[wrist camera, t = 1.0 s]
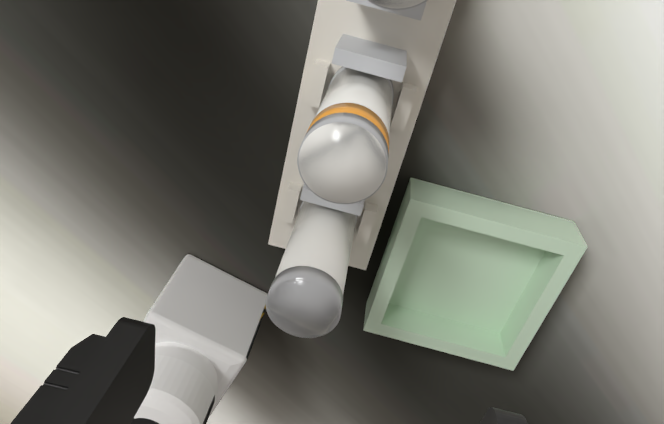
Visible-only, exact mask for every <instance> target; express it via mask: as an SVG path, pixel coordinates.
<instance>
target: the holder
mask: <svg viewBox="0 0 664 424" xmlns="http://www.w3.org/2000/svg"><path fill="white" fill-rule="evenodd" d="M456 1H457V0H428V1H426V2H425V3H423V4H421V5H419V6H416V7H413V8H410V9H405V10H389V9H384V8H381V7H378V6H376V5H374V4H372V3H371V2H369V1H368V0H318V3H317V8H316V13H315V18H314V23H313V28H312V32H311V37H310V42H309V47H308V52H307V57H306V62H305V67H304V71H303V76H302V81H301V86H300V91H299V96H298V101H297V106H296V110H295V115H294V120H293V125H292V130H291V135H290V140H289V145H288V149H287V154H286V159H285V164H284V169H283V174H282V179H281V184H280V188H279V193H278V198H277V203H276V208H275V213H274V218H273V223H272V227H271V232H270V237H269V242H268V244H269V245H273V246H277V247H280V248H284V249H286V247H287V244H288V241H289V239H290V236H291V233H292V231H293V228H294V225H295V223H296V220H297V217H298V214H299V211H300V207H301V204H302V201H306V202H309V203H313V204H317V205H320V206H324V207H328V208H332V209H335V210H339V211H343V212H346V213H350V214H354V215H358V217H357V222H356V226H355V229H354V235H353V241H352V247H351V252H350V258H349V264H348V266H351V267H355V268H359V269H362V270H366V268H367V266H368V263H369V260H370V257H371V254H372V251H373V248H374V245H375V242H376V239H377V236H378V233H379V230H380V227H381V224H382V221H383V218H384V215H385V212H386V209H387V206H388V203H389V200H390V197H391V194H392V191H393V188H394V185H395V182H396V179H397V176H398V173H399V170H400V167H401V164H402V161H403V158H404V155H405V152H406V149H407V146H408V143H409V141H410V138H411V135H412V132H413V129H414V126H415V123H416V120H417V117H418V114H419V111H420V108H421V105H422V102H423V99H424V96H425V93H426V90H427V87H428V84H429V81H430V78H431V75H432V72H433V69H434V66H435V63H436V60H437V57H438V54H439V51H440V48H441V45H442V42H443V39H444V36H445V33H446V30H447V27H448V24H449V21H450V18H451V16H452V13H453V10H454V7H455V4H456ZM342 66H343V67H346V68H350V69H354V70H357V71H361V72H365V73H368V74H372V75H376V76H379V77H383V78H387V79H391V80H392V83H393V88H394V97H393V104H392V109H391V120H390V132H389V143H390V145H389V157H388V168H387V174H386V177H385V180H384V182H383V184H382V185H381V187H380V188H379V189H378V191H376V192H375V193H374V194H373V195H372V196H371V197H369V198H367V199H365V200H363V201H361V202H358V203H353V204H336V203H331V202H328V201H326V200H323V199H321V198H320V197H318V196H316V195H315V194H314V193H313V192H311V191H310V190H309V189H308V187H307V186H306V185H305V184H304V182H303V180H302V178H301V176H300V174H299V170H298V164H297V157H298V151H299V148H300V145H301V143H302V141H303V139H304V137H305V135H306V133H307V131H308V128H309V126H310V124H311V122H312V121H313V119H314V118H315V116H316V114H317V112H318V110H319V108H320V106H321V103H322V101H323V99H324V97H325V95H326V93H327V91H328V87H329V84H330V82H331V80H332V78H333V76H334V74H335V73H336V72H337V70H338V69H339V68H341V67H342Z"/></svg>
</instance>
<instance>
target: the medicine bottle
mask: <svg viewBox="0 0 664 424" xmlns="http://www.w3.org/2000/svg"><path fill="white" fill-rule="evenodd" d="M267 295H268V294H267V293H266V292H264V291H262V290H260V289H258V288H256V287H254V286H252V285H250V284H248V283H246V282H244V281H242V280H240V279H238V278H236V277H234V276H232V275H230V274H228V273H226V272H224V271H222V270H220V269H218V268H216V267H214V266H212V265H210V264H208V263H206V262H205V261H203V260H201V259H199V258H197V257H195V256H193V255H190V254H188V255H186V256H185V257H184V258H183V260H182V261H181V263H180V264H179V266H178V267H177V269H176V270H175V272H174V274H173V275H172V277H171V278H170V280H169V281H168V283H167V284H166V286H165V287H164V289H163V290H162V292H161V293H160V295H159V296H158V298H157V299H156V301H155V302H154V304H153V305H152V307H151V308H150V310H149V311H148V313H147V315H146V317H145V319H144V321H143V322H146V323H150V324H154V325H155V330H156V333H155V370H154V375H153V379H152V383H151V386H150V388H149V391H148V393H147V395H146V397H145V399H144V400H143V402H142V404H141V406H140V407H139V409H138V411H137V413H136V415H135V416H134V418H133V420H132V422H131V424H206V422H207V420H208V417H209V416H210V415H211V414H212V412H213V411H214V409H215V408H216V406H217V405H218V403H219V402H220V400H221V399H222V397H223V396H224V394H225V393H226V391H227V390H228V388H229V387H230V385H231V384H232V382H233V381H234V379H235V378H236V376H237V375H238V373H239V372H240V370H241V369H242V367H243V366H244V364H245V363H246V361H247V359H248V356H249V353H250V350H251V348H252V345H253V342H254V339H255V337H256V334H257V331H258V328H259V326H260V323H261V320H262V318H263V315H264V312H265V309H266V298H267Z"/></svg>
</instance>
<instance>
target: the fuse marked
mask: <svg viewBox="0 0 664 424" xmlns="http://www.w3.org/2000/svg"><path fill="white" fill-rule="evenodd" d="M393 97H394V88H393V83H392V80H391V79H387V78H383V77H379V76H376V75H372V74H368V73H365V72H361V71H357V70H354V69H350V68H346V67H343V66H342V67H341V68H339V69H338V70H337V72H336V73H335V74H334V76H333V78H332V80H331V82H330V84H329V87H328V91H327V93H326V95H325V97H324V99H323V101H322V103H321V106H320V108H319V110H318V112H317V114H316V116H315V118H314V119H313V121H312V122H311V124H310V126H309V128H308V131H307V133H306V135H305V137H304V139H303V141H302V143H301V145H300V148H299V151H298V157H297V164H298V170H299V174H300V176H301V178H302V180H303V182H304V184H305V185H306V186H307V187H308V189H309V190H310V191H311V192H313V193H314V194H315V195H316V196H318V197H320V198H321V199H323V200H326V201H328V202H331V203H336V204H353V203H358V202H361V201H363V200H365V199H367V198H369V197H371V196H372V195H373V194H374V193H375V192H376V191H378V189H379V188H380V187H381V185H382V184H383V182H384V180H385V177H386V174H387V168H388V157H389V145H390V143H389V132H390V120H391V109H392V104H393Z"/></svg>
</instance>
